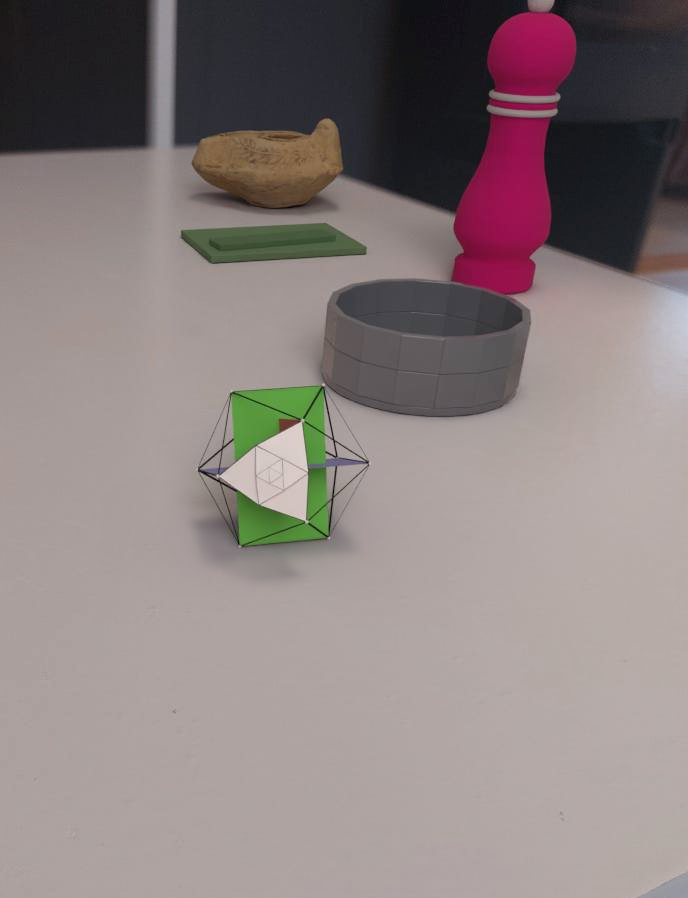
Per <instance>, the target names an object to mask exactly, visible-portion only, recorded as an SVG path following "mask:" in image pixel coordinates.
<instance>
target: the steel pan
mask: <svg viewBox="0 0 688 898" xmlns="http://www.w3.org/2000/svg"><path fill="white" fill-rule="evenodd" d="M325 313H326V314H325V315H326V316H325V327H324V337H323V349H322V360H321V369H322V377H323V381H324V382H325V384H326V385H327V386H328V387H329V388H330V389H332V391H334V392H335V393H337V394H338V395H340V396H342V397H344V398H346V399H348V400H351V401H353V402H355V403H358V404H361V405H364V406H367V407H370V408H373V409H377V410H382V411H386V412H392V413H397V414H404V415H412V416H424V417H457V416H467V415H476V414H480V413H485V412H489V411H492V410H495V409H497V408H500V407H503V406H504V405H506V404H508V403H510V401H511V400H513V398H514V397H515V395H516V393H517V389H518V388H519V385H520V379H521V374H522V370H523V365H524V361H525V355H526V351H527V346H528V340H529V335H530V330H531V325H532V315H531V309H529V308H528V307H527V306H525V305H524V304H523V303H521V302H520V301H519V300H517V299H516V298H515V297H513V296H509V295H508V294H501V293H498V292H495V291H493V290H490V289H487V288H482V287H477V286H472V285H467V284H462V283H457V282H453V281H452V280H450V281H449V280H441V279H440V280H439V279H428V278H414V277H413V278H379V279H373V280H367V281H361V282H360V281H359V282H355V283H350V284H348V285H346V286H343V287H341V288H339V289H337V290H335V291H333V292H332V293H331V295H330V296H329V299H328V301H327V304H326V312H325Z"/></svg>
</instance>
